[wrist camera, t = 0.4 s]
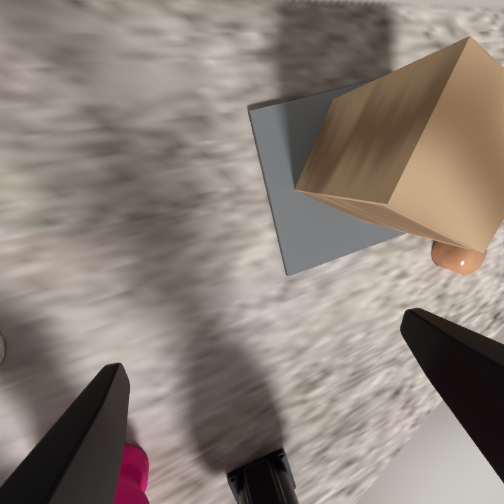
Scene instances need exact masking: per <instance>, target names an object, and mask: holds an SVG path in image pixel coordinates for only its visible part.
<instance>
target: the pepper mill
mask: <svg viewBox="0 0 504 504" xmlns="http://www.w3.org/2000/svg"><path fill="white" fill-rule="evenodd" d="M148 471H149V462H148V459H147V456H146V455H145V454H144V453H143V451H141V450H140V449H138V448H137V447H134V446H131V445H126V444H125V445H124V451H123V457H122V462H121V467H120V472H119V477H118V482H117V487H116V492H115V497H114V502H113V504H149V501H148V499H147V497H146V495H145V493H144V492H145V490H146V488H147V481H148Z"/></svg>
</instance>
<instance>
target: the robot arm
mask: <svg viewBox="0 0 504 504" xmlns="http://www.w3.org/2000/svg"><path fill="white" fill-rule="evenodd" d="M400 331H401V334H402V336H403V338H404V340H405V341H406V343H407V345H408V346H409V348H410V350H411V351H412V353H413V355H414V356H415V358H416V360H417V361H418V363H419V365H420V366H421V368H422V370H423V371H424V373H425V375H426V376H427V378H428V379H429V381H430V382H431V383H432V385H433V386H434V388H435V389H436V390H437V392H438V393H439V395H440V396H441V397H442V399H443V400H444V401H445V403H446V404H447V406H448V407H449V408H450V409H451V411H452V412H453V414H454V415H455V417H456V418H457V419H458V421H459V422H460V424H461V425H462V426H463V428H464V429H465V430H466V432H467V433H468V435H469V436H470V437H471V439H472V440H473V441H474V443H475V444H476V446H477V447H478V448H479V450H480V451H481V453H482V454H483V455H484V457H485V458H486V459H487V461H488V462H489V464H490V465H491V466H492V467H493V469H494V471H495V472H496V473H497V475H498V476H499V477H500V479H501V480H502V482H503V483H504V344H502V343H499V342H497V341H495V340H492V339H490V338H488V337H485V336H483V335H481V334H479V333H476V332H474V331H472V330H469V329H467V328H465V327H462V326H460V325H458V324H455V323H453V322H451V321H449V320H446V319H444V318H442V317H439V316H437V315H435V314H432V313H430V312H428V311H425V310H423V309H421V308H413V309H408V310H406V311H405V313H404V316H403V319H402V323H401V326H400ZM129 394H130V382H129V379H128V376H127V374H126V372H125V369H124V367H123V365H122V364H121V363H113V364H108V365H105V366H104V367H103V368H102V369H101V370H100V372H99V373H98V374H97V375H96V376H95V377H94V379H93V380H92V381H91V382H90V383H89V384H88V386H87V387H86V388H85V389H84V390H83V391H82V393H81V394H80V395H79V396H78V397H77V398H76V400H75V401H74V402H73V403H72V404H71V405H70V407H69V408H68V409H67V410H66V411H65V412H64V414H63V415H62V416H61V417H60V418H59V419H58V421H57V422H56V423H55V424H54V425H53V426H52V428H51V429H50V430H49V431H48V432H47V433H46V435H45V436H44V437H43V438H42V439H41V440H40V442H39V443H38V444H37V445H36V446H35V447H34V449H33V450H32V451H31V452H30V453H29V454H28V456H27V457H26V458H25V459H24V460H23V461H22V462H21V464H20V465H19V466H18V467H17V468H16V469H15V471H14V472H13V473H12V474H11V475H10V476H9V478H8V479H7V480H6V481H5V482H4V483H3V485H2V486H1V487H0V504H113V502H114V497H115V492H116V487H117V482H118V477H119V472H120V467H121V462H122V457H123V451H124V445H125V436H126V426H127V415H128V404H129ZM227 480H228V484H229V486H230V488H231V490H232V493H233V495H234V497H235V499H236V502H237V504H299V502H298V499H297V497H296V494H295V491H294V489H295V488H296V485H295V482H294V479H293V476H292V473H291V469H290V466H289V463H288V460H287V457H286V454H285V451H284V450H283V449H280V450H278V451H276V452H274V453H272V454H269V455H267V456H265V457H263V458H261V459H259V460H257V461H255V462H253V463H251V464H249V465H246V466H244V467H242V468H240V469H238V470H236V471H234V472H232V473H230V474H229V475H228V476H227Z"/></svg>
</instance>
